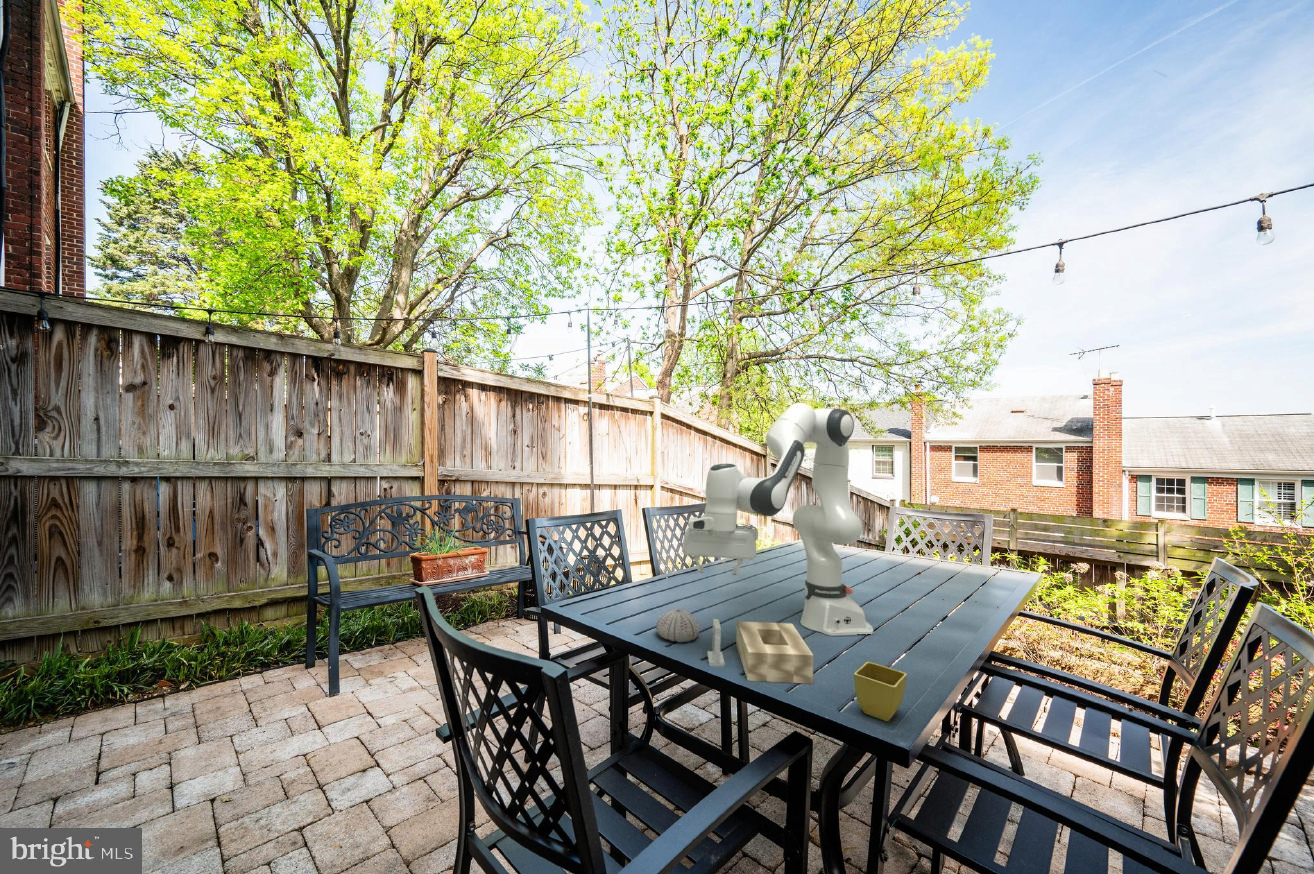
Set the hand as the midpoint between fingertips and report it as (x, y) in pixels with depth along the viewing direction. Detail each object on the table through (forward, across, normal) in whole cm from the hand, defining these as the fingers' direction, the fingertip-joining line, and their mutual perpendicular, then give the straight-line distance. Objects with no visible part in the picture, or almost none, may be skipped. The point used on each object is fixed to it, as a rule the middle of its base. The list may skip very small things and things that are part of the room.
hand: (717, 573), depth 138 cm
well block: (+23, -16, 0) cm, 28 cm away
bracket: (+23, 0, +1) cm, 23 cm away
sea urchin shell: (+24, +10, -15) cm, 29 cm away
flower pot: (+23, -36, +24) cm, 48 cm away
